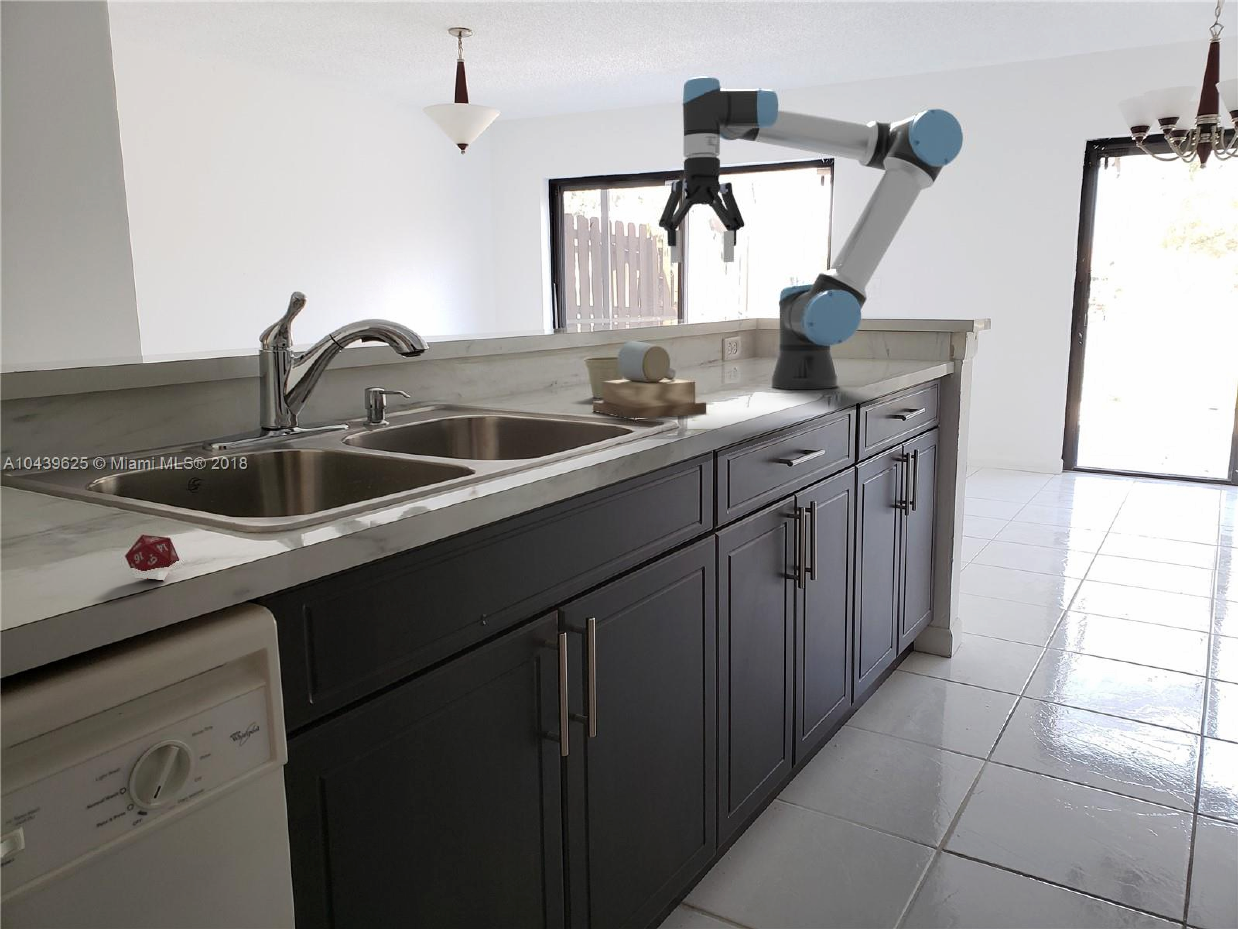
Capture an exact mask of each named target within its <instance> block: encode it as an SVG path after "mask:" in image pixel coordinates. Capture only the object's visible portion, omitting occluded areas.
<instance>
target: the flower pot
mask: <svg viewBox="0 0 1238 929" xmlns="http://www.w3.org/2000/svg"><path fill="white" fill-rule="evenodd" d="M617 359H618V356H602V357H589V358H584V359H583V360H584V362H585V365H586V368H587V371H588V375H589V382H590V386H591V394H592V398H594V397H596V398H595V399H599V398H602V399H603V381H613V380H623V377H622V375H621V374H620V372H619V370H618V365H617Z"/></svg>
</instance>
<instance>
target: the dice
mask: <svg viewBox="0 0 1238 929" xmlns="http://www.w3.org/2000/svg"><path fill="white" fill-rule="evenodd" d="M124 557H125V559H126V561H127V564H128V566H129V568H130V569H131V568H135V569H138V570H141V571H147V570H151V569H155V568H164V567H169V566H170V565H172V564H173V563H175V562H176V561H179V560H180V557H179V555H178V553H177V551H176V547H174V543H173V542H172V539H171V537H168V536H167V537H165V536H157V535H156V536H155V535H146V534H141V536H140V537H139V538H138V539H137V540H136V541H135V543H134V544H133V545H132V547H131V548H130V549H129V550H128V551H127V553H126V554H125V555H124ZM179 562H180V561H179Z"/></svg>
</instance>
